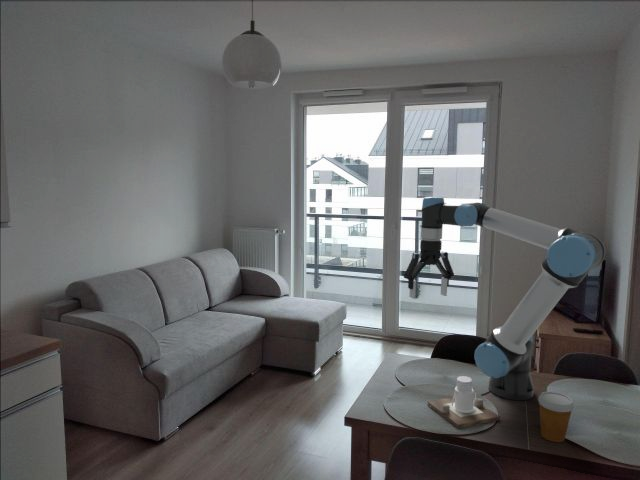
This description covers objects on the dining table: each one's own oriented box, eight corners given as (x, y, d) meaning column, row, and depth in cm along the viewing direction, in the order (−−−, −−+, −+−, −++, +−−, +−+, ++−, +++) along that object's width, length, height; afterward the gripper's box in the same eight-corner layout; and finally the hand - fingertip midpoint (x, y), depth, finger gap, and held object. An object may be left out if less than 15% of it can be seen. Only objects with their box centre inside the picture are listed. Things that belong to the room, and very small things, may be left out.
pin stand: (467, 397, 165) (467, 389, 165) (499, 419, 150) (500, 410, 150) (427, 404, 159) (428, 395, 159) (457, 428, 145) (458, 418, 144)
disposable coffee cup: (569, 449, 135) (573, 408, 133) (532, 438, 140) (536, 399, 138) (572, 434, 143) (575, 396, 141) (537, 425, 148) (540, 388, 146)
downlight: (470, 402, 159) (471, 373, 157) (480, 412, 152) (481, 382, 151) (447, 404, 158) (448, 375, 156) (456, 415, 151) (457, 385, 149)
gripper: (453, 237, 182) (450, 291, 184) (395, 239, 173) (393, 296, 175) (465, 239, 175) (462, 296, 178) (406, 241, 166) (404, 301, 168)
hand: (428, 296), depth 176 cm, fingers open, 13 cm apart
